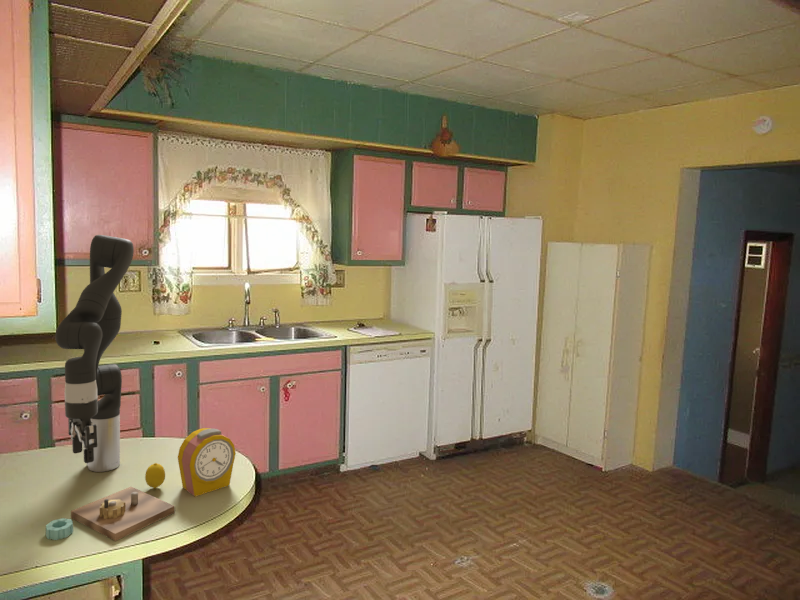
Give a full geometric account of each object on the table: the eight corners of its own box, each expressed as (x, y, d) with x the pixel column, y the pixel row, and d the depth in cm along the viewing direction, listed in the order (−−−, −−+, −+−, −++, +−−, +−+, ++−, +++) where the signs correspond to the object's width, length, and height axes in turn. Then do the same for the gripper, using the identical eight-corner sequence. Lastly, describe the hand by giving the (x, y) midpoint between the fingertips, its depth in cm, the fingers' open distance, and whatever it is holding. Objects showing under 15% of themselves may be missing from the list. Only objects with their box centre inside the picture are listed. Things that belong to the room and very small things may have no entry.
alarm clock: (190, 499, 173) (191, 439, 170) (177, 489, 178) (178, 431, 176) (235, 484, 184) (237, 428, 181) (221, 475, 189) (223, 420, 187)
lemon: (157, 493, 175) (158, 468, 174) (141, 491, 176) (141, 465, 175) (168, 485, 180) (169, 460, 179) (152, 483, 181) (152, 458, 180)
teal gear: (40, 534, 150) (40, 525, 150) (64, 524, 155) (64, 515, 155) (54, 542, 147) (54, 533, 147) (77, 532, 152) (77, 523, 152)
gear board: (71, 517, 159) (70, 495, 158) (131, 492, 174) (131, 472, 173) (115, 541, 149) (115, 517, 148) (174, 512, 165) (174, 490, 164)
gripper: (56, 394, 156) (58, 453, 158) (74, 406, 146) (77, 469, 148) (87, 389, 162) (88, 446, 164) (106, 401, 152) (108, 461, 154)
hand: (83, 457), depth 156 cm, fingers open, 8 cm apart
